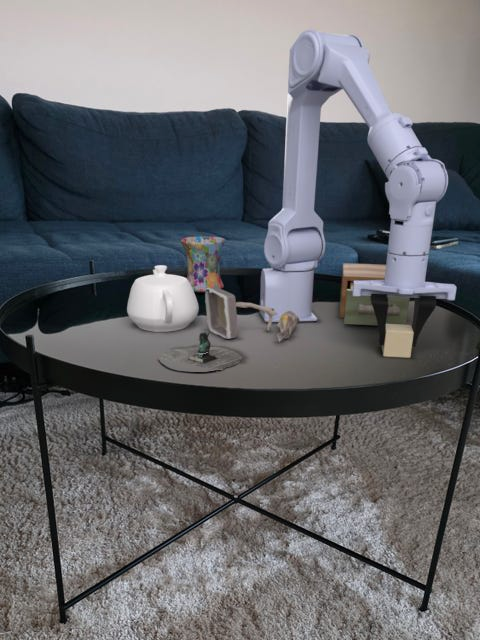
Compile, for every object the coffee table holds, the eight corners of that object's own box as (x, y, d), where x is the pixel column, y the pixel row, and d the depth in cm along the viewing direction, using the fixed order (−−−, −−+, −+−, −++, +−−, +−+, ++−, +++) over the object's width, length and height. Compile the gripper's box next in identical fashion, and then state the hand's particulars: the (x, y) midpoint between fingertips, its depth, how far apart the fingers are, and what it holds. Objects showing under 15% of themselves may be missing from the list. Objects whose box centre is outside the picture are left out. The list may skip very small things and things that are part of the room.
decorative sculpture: (297, 327, 103) (299, 285, 100) (307, 344, 95) (310, 298, 91) (205, 328, 102) (204, 285, 99) (206, 345, 94) (206, 299, 90)
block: (410, 358, 89) (413, 332, 87) (383, 356, 89) (386, 330, 88) (407, 349, 92) (411, 324, 91) (381, 348, 93) (384, 323, 91)
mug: (228, 294, 125) (228, 242, 120) (184, 296, 123) (182, 243, 119) (220, 282, 135) (219, 234, 131) (179, 283, 134) (177, 235, 129)
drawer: (408, 335, 96) (413, 299, 94) (344, 332, 98) (347, 297, 95) (399, 309, 111) (403, 278, 108) (343, 307, 112) (346, 276, 110)
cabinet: (404, 320, 107) (410, 278, 104) (340, 317, 109) (343, 276, 106) (398, 303, 118) (403, 265, 115) (340, 301, 120) (343, 263, 117)
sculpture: (246, 350, 92) (243, 322, 85) (236, 403, 89) (232, 378, 82) (172, 341, 94) (163, 313, 87) (159, 392, 90) (148, 367, 83)
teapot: (124, 311, 112) (119, 256, 108) (188, 307, 115) (187, 254, 110) (132, 343, 94) (127, 279, 90) (208, 338, 97) (207, 275, 93)
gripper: (357, 255, 82) (348, 349, 88) (466, 259, 80) (450, 355, 86) (355, 247, 88) (348, 335, 94) (456, 250, 86) (442, 340, 92)
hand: (396, 344), depth 90 cm, fingers closed on block, 4 cm apart
